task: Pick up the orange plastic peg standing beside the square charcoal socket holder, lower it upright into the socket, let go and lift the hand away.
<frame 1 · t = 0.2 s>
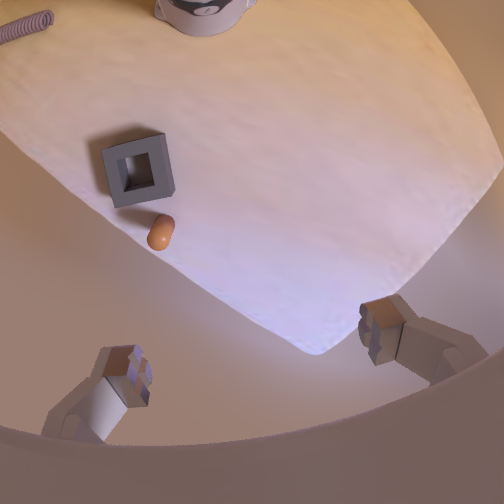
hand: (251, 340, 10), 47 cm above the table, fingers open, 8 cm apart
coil: (24, 30, 33), on the table
peg: (165, 224, 57), on the table
socket holder: (142, 167, 51), on the table
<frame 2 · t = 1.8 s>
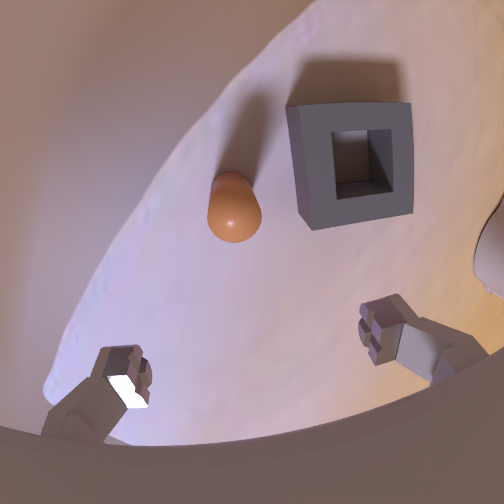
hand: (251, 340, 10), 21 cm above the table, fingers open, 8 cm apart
peg: (230, 191, 29), on the table
socket holder: (343, 155, 28), on the table
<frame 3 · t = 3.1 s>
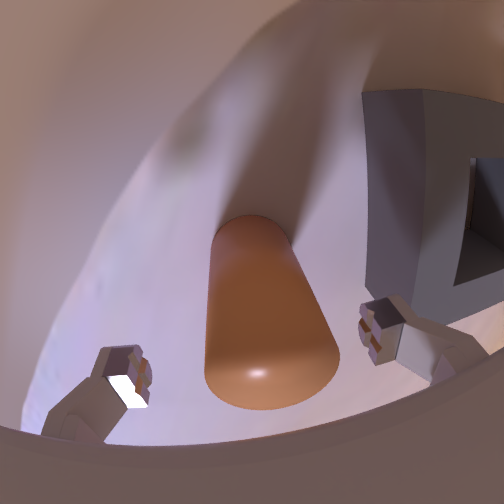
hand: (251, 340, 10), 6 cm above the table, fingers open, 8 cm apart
peg: (250, 252, 15), on the table
socket holder: (444, 189, 15), on the table
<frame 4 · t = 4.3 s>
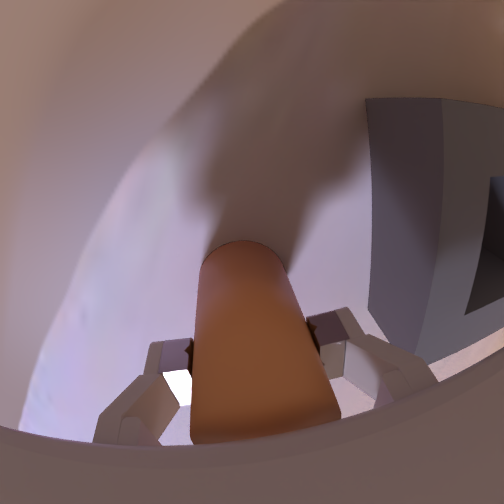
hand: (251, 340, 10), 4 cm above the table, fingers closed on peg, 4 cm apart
peg: (242, 280, 14), on the table, touching gripper
socket holder: (453, 203, 13), on the table
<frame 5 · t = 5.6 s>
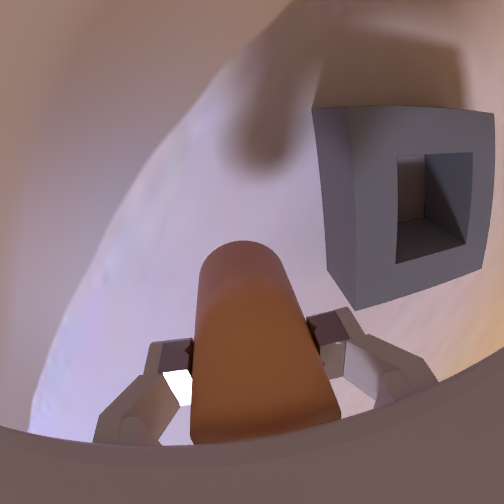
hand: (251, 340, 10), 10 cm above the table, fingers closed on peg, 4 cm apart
peg: (242, 280, 14), point 5 cm above the table, touching gripper
socket holder: (393, 184, 18), on the table
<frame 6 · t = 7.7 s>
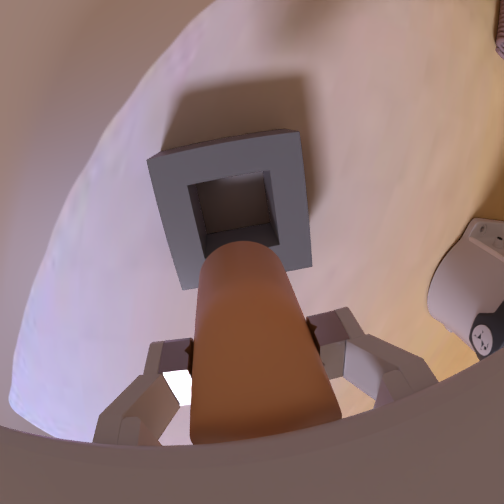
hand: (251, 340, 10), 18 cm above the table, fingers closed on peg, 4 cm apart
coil: (502, 15, 17), on the table
peg: (242, 280, 14), point 14 cm above the table, touching gripper
socket holder: (232, 198, 26), on the table
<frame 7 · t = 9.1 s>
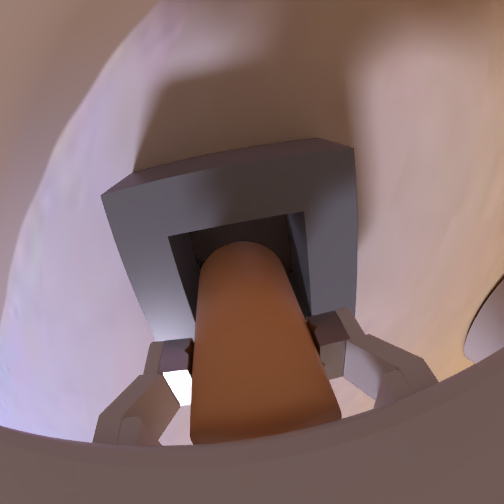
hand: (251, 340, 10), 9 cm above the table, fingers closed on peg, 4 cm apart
peg: (242, 281, 14), point 5 cm above the table, touching gripper
socket holder: (240, 239, 18), on the table
when the fingers open (5 cm above the table, at t = 10.6 s): peg stays where it is, resting in socket holder.
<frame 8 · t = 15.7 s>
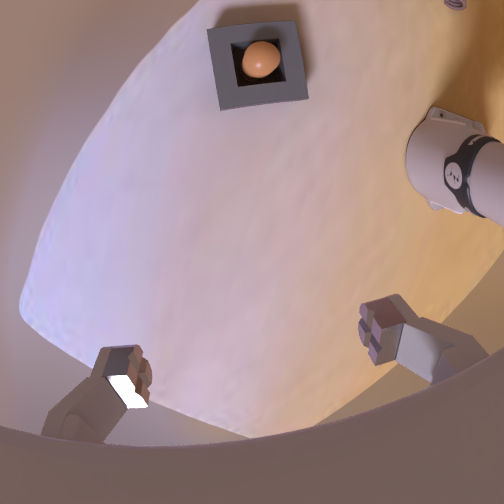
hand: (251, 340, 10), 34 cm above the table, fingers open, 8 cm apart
peg: (254, 68, 35), resting in socket holder
socket holder: (254, 68, 35), on the table
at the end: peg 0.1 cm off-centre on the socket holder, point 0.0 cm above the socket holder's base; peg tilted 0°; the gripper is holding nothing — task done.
